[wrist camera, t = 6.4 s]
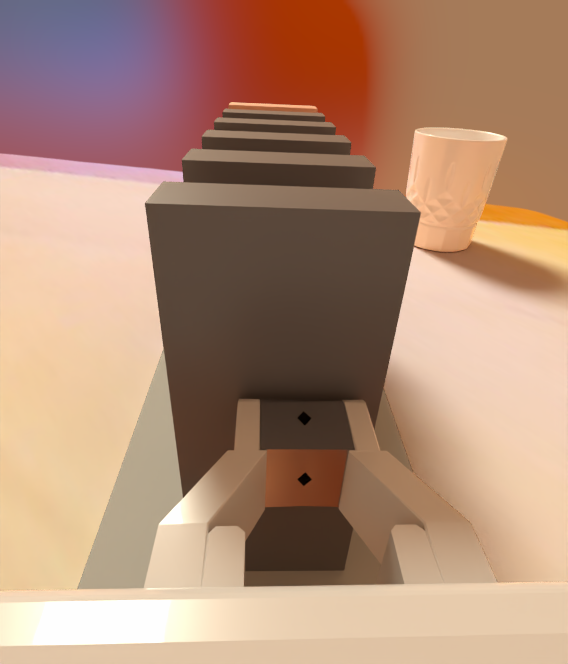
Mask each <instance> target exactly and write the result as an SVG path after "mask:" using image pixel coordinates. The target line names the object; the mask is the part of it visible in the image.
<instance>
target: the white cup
mask: <svg viewBox="0 0 568 664" xmlns="http://www.w3.org/2000/svg"><path fill="white" fill-rule="evenodd" d="M506 142H507V137H505V136H502V135H499V134H495V133H490V132H483V131H476V130H468V129H457V128H419V129H416V130H415V135H414V142H413V149H412V156H411V162H410V169H409V176H408V183H407V191H406V198H407V199H408V200H409V201H410V202H411V203H412V204H413V205H414V206H415V207H416V208H417V209H418V210H419V211H420V212H421V215H420V220H419V224H418V229H417V234H416V238H415V243H414V246H417V247H420V248H423V249H427V250H433V251H440V252H456V251H461V250H465V249H466V248H467V247H468V246H469V245H470V243H471V240H472V237H473V234H474V231H475V228H476V225H477V222H478V221H479V219H480V217H481V214H482V211H483V209H484V205H485V203H486V201H487V198H488V195H489V192H490V189H491V186H492V183H493V180H494V177H495V174H496V171H497V169H498V165H499V163H500V160H501V157H502V154H503V151H504V148H505V145H506Z"/></svg>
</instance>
